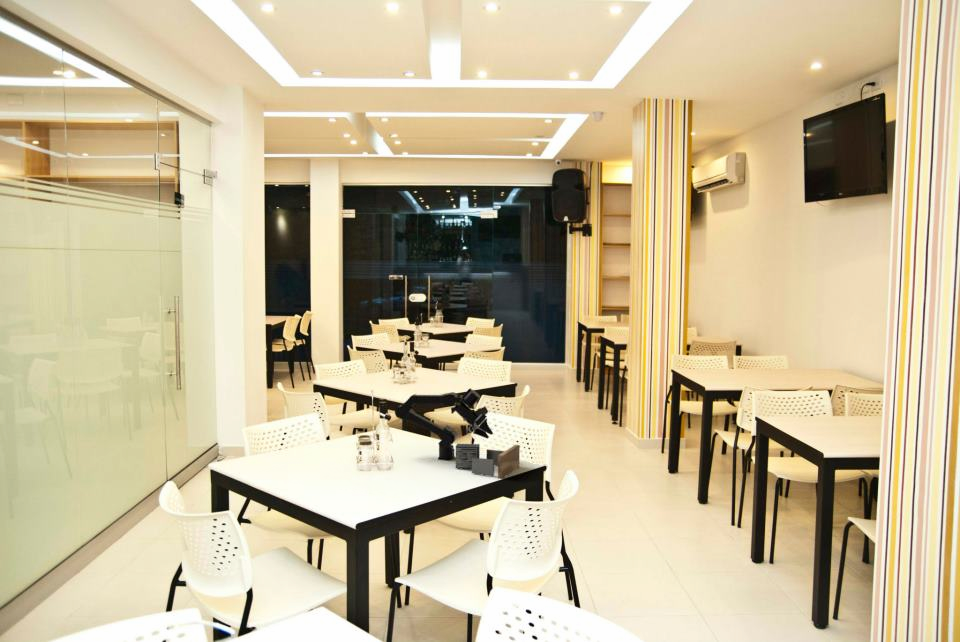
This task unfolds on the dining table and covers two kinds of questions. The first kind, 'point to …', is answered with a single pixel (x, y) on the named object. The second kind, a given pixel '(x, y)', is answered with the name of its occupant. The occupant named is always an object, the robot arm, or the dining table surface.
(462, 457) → the small box
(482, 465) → the bookend
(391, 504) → the dining table surface
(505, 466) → the shelf panel
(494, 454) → the bookend
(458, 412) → the robot arm
